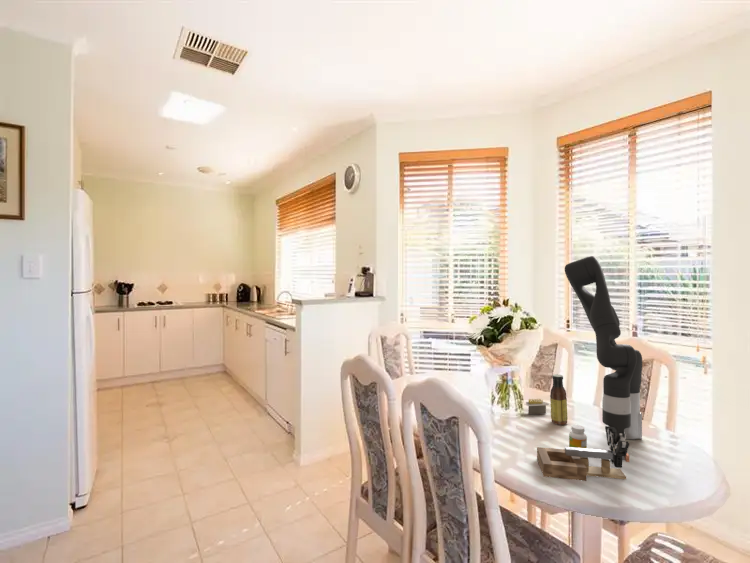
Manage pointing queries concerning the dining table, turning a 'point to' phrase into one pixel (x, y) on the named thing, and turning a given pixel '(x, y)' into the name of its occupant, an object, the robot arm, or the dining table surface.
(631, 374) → the robot arm
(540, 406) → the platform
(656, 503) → the dining table surface
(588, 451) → the grey bar
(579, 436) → the supplement bottle
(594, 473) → the mount
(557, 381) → the sauce bottle
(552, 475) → the socket
